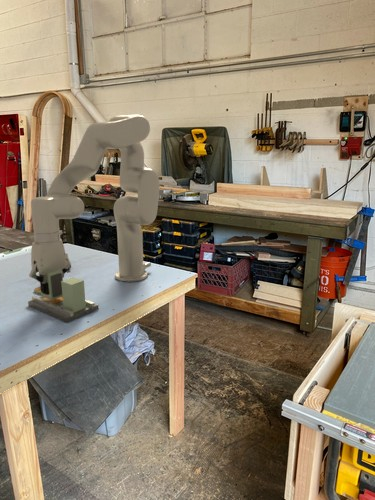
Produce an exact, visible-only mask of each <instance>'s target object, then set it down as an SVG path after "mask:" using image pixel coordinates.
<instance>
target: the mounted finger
mask: <svg viewBox="0 0 375 500" xmlns="http://www.w3.org/2000/svg"><path fill="white" fill-rule="evenodd" d="M61 284H62V295H63V306H64V308H66V309H68V310H70V311H73V312H77V311H79V310H81V309H84V308H86V303H85V300H86V293H85V291H86V289H85V280H83V279H80V278H78V277H73V276H71V277H70V278H66V279H64V280H63V281H61Z"/></svg>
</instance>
